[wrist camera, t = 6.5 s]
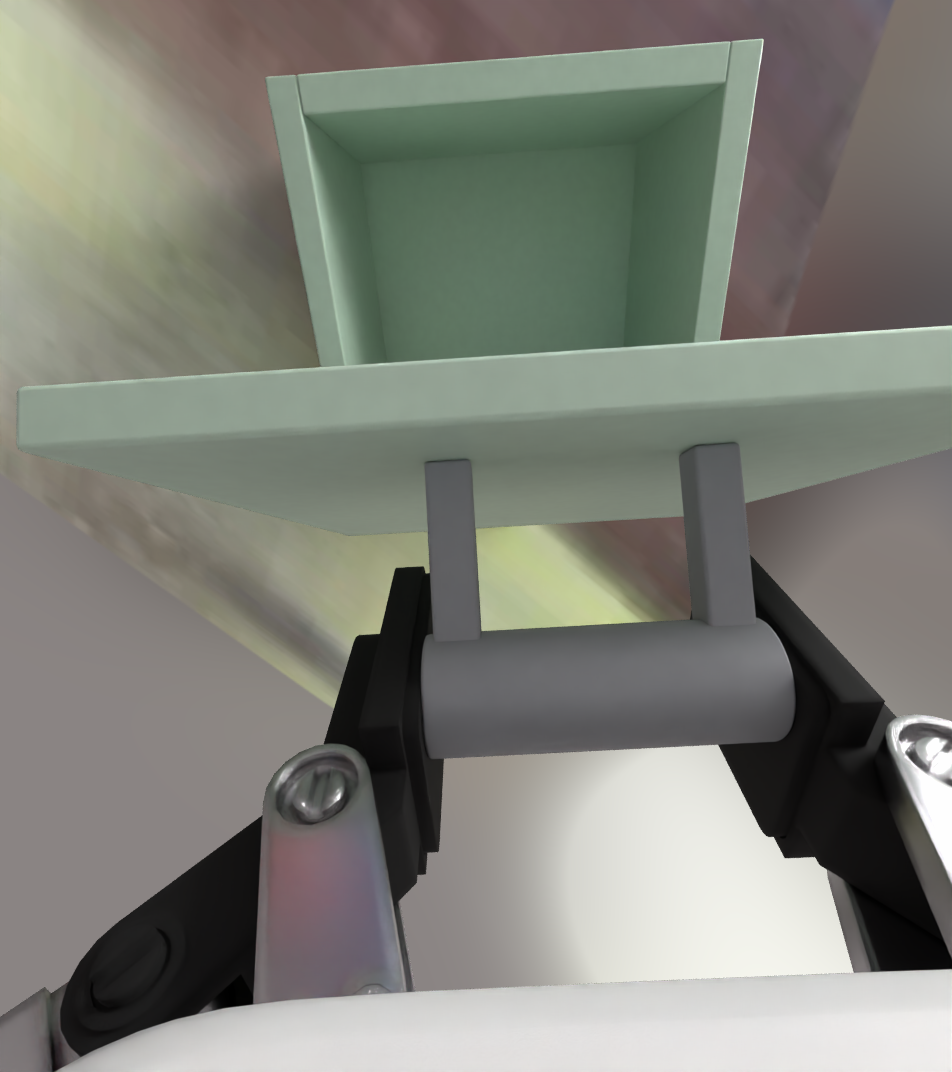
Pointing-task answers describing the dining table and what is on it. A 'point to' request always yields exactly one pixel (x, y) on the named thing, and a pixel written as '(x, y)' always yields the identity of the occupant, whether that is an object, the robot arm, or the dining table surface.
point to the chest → (517, 200)
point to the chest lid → (541, 500)
